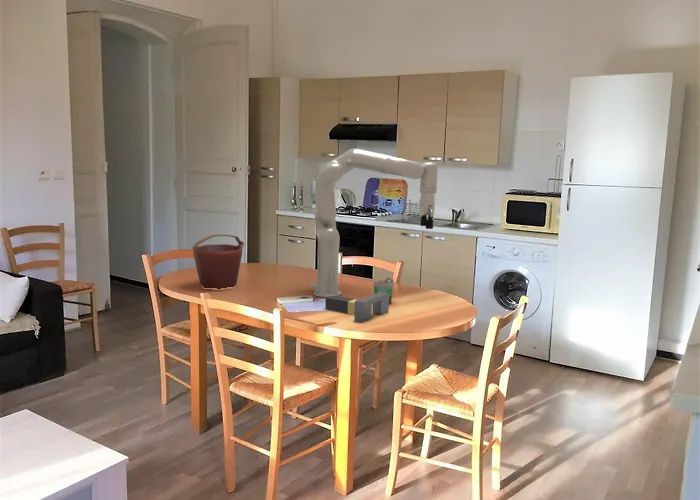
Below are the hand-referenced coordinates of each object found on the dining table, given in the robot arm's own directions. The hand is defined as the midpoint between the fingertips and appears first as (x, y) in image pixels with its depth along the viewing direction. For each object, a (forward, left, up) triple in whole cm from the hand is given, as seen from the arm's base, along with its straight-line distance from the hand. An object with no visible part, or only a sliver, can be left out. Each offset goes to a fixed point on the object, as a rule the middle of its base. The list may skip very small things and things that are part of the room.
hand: (426, 227), depth 283 cm
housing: (+1, -48, -31) cm, 57 cm away
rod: (-13, -48, -31) cm, 59 cm away
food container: (-5, -26, -32) cm, 41 cm away
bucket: (-83, -48, -32) cm, 101 cm away
